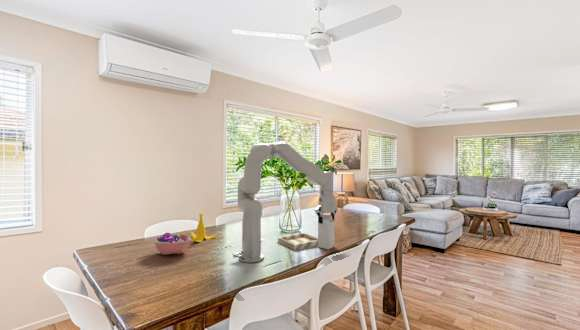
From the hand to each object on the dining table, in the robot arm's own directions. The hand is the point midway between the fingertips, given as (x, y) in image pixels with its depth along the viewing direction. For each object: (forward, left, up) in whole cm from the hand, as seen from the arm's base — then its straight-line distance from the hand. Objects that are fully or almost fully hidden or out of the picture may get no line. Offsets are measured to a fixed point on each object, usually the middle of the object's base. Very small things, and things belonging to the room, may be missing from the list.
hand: (326, 222), depth 164 cm
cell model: (-77, +37, -15) cm, 87 cm away
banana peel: (-54, +55, -15) cm, 79 cm away
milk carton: (0, 0, -15) cm, 15 cm away
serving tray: (-9, +14, -15) cm, 22 cm away
